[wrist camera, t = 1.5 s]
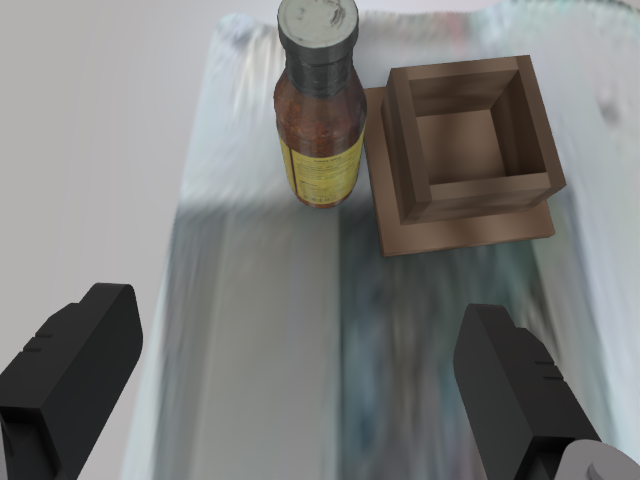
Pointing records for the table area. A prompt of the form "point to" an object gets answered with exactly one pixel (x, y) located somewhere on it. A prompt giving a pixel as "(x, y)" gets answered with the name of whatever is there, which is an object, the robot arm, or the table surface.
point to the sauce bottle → (320, 100)
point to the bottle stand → (460, 156)
